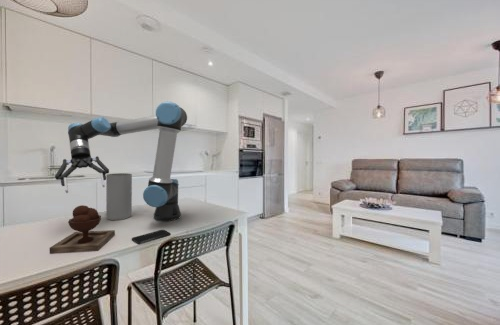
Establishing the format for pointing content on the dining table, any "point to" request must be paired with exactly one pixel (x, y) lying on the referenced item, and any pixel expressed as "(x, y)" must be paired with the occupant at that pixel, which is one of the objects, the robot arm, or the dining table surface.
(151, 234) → the phone
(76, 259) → the dining table surface
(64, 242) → the walnut tray
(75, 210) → the ice cream bowl
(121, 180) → the cylinder vase
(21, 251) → the dining table surface
